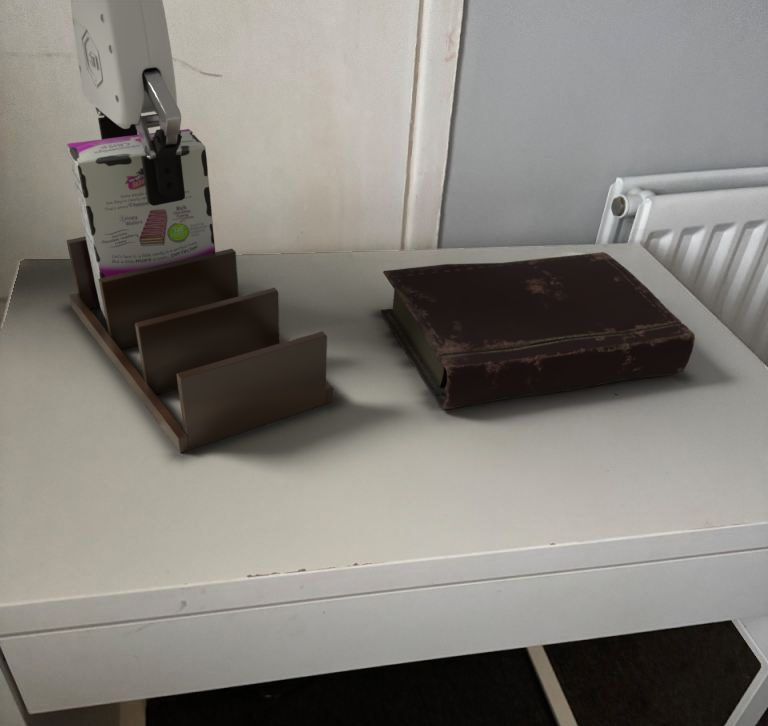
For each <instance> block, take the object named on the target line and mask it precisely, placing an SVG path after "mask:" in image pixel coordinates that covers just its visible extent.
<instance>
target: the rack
mask: <svg viewBox="0 0 768 726" xmlns="http://www.w3.org/2000/svg"><path fill="white" fill-rule="evenodd" d="M66 246H67V251H68V255H69V260H70V265H71V271H72V275H73V279H74V284H75V289H76V293H73V294H69V301H70V305H71V309H72V310H73V311H74V313H75V314H76V316H77V317H78V319H79V320H80V321H81V322H82V324H83V325H84V327H85V328H86V329H87V330H88V332H89V333H90V335H91V336H92V337H93V339H94V340H95V341H96V342H97V344H98V345H99V347H100V348H101V349H102V351H103V352H104V354H106V356H107V357H108V358H109V360H110V361H111V362H112V364H113V365H114V367H115V368H116V369H117V370H118V371H119V373H120V375H121V376H122V377H123V379H124V380H125V381H126V382H127V384H128V385H129V386H130V388H131V389H132V391H133V392H134V394H136V396H137V397H138V399H139V400H140V401H141V402H142V404H143V405H144V406H145V408H146V409H147V410H148V412H149V413H150V414H151V416H152V417H153V418H154V420H155V421H156V423H157V424H158V425H159V426H160V428H161V429H162V431H163V432H164V433H165V434H166V436H167V437H168V439H169V441H171V443H172V444H173V445H174V447H175V448H176V450H177V451H178V452H179V453H184V452H187V451H189V450H193V449H196V448H199V447H202V446H205V445H209V444H211V443H214V442H217V441H219V440H224V439H226V438H228V437H232V436H235V435H238V434H240V433H244V432H247V431H250V430H253V429H255V428H258V427H262V426H264V425H267V424H270V423H274V422H276V421H279V420H282V419H285V418H287V417H291V416H294V415H297V414H301V413H303V412H306V411H308V410H312V409H316V408H318V407H320V406H323V405H326V404H329V403H333V402H334V394H335V393H334V391H335V389H334V386H333V385H332V384H330V382H328V380H327V364H328V363H327V360H328V356H327V355H328V335H327V334H326V333H325V332H324V331H323V330H322V331H321V330H320V331H318V332H315V333H311V334H307V335H305V336H301V337H297V338H294V339H291V340H285V338H283V336H282V335H280V308H279V306H280V305H279V304H280V303H279V302H280V301H279V299H280V298H279V290H278V289H277V288H276V287H269V288H266V289H262V290H258V291H255V292H249V293H247V294H243V295H240V294H239V284H238V281H239V280H238V267H237V264H238V263H237V252H236V250H235V249H234V248H227V249H222V250H220V251H215V252H214V253H210V254H206V255H201V256H197V257H193V258H188V259H184V260H179V261H175V262H171V263H166V264H162V265H157V266H153V267H149V268H144V269H140V270H135V271H131V272H127V273H122V274H118V275H114V276H109V277H105V278H100V279H98V280H99V286H100V291H101V296H102V302H103V307H104V312H105V317H104V319H105V318H106V319H105V322H106V328H107V330H106V329H105V327H104V326H103V325H102V323H101V322H100V321H99V319H97V317H96V316H95V314H94V313H93V312H92V311H91V309H94V308H96V307H97V308H98V307H100V303H99V299H98V294H97V289H96V285H95V280H94V275H93V270H92V265H91V260H90V255H89V251H88V246H87V241H86V236H81V237H76V238H71V239H67V240H66ZM134 346H138V351H139V358H140V364H141V371H142V375H141V374H140V372H139V371H138V370H137V369H136V367H135V366H134V365H133V363H132V362H131V361H130V359H129V358H128V357H127V356H126V354H125V353H124V352H123V351H122V350H123V349H127V348H131V347H134ZM142 376H143V377H142ZM174 390H178V397H179V404H180V413H181V421H182V427H181V426H180V424H179V423H178V422H177V420H176V419H175V418H174V416H173V415H172V414H171V413H170V411H169V410H168V408H166V405H164V404H163V402H162V401H161V399H159V397H158V396H157V395H161V394H163V393H167V392H172V391H174Z"/></svg>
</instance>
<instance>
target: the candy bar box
mask: <svg viewBox="0 0 768 726" xmlns="http://www.w3.org/2000/svg"><path fill="white" fill-rule="evenodd" d="M180 131H181V133H180V134H181V136H182V139H181V143H180V144H181V148H182V153H181V163H182V172H183V181H184V190H185V198H184V199H183V200H181V201H176V202H171V203H166V204H161V205H156V206H152V205H151V204H150V203H149V202H148V201H147V195H146V187H145V180H144V173H143V166H142V159H141V156H146V154H145V152H144V149H143V146H142V143H141V140H140V138H139V135H134V136H125V137H117V138H109V139H101V138H100V139H93V140H86V141H77V142H69V143H67V144H66V149H67V153H68V158H69V163H70V167H71V173H72V177H73V181H74V187H75V191H76V196H77V200H78V205H79V212H80V215H81V216H80V217H81V220H82V225H83V231H84V235H85V236H86V241H87V246H88V251H89V255H90V260H91V265H92V270H93V275H94V280H95V285H96V289H97V294H98V299H99V303H100V306H99V307H100V311H101V313H102V315H103V318H104V319H105V320H106V318H105V312H104V307H103V302H102V296H101V291H100V286H99V280H98V279H100V278H105V277H109V276H114V275H118V274H122V273H127V272H131V271H135V270H140V269H144V268H149V267H153V266H157V265H162V264H166V263H171V262H175V261H179V260H184V259H188V258H193V257H197V256H201V255H206V254H210V253H214V252H216V243H215V234H214V223H213V211H212V202H211V191H210V182H209V181H210V180H209V169H208V157H207V151H206V150H207V149H206V148H207V147H206V146H205V144H204V143H203V142H202V141H201V140H200V139H199V138H198V136H196V135H195V134H194V133H193V131H192V130H191V129H189V128H185V129H180ZM149 133H150V136H151V139H152V140H153V137H154V135H155V132H149ZM85 236H84V237H85Z"/></svg>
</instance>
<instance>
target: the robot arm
mask: <svg viewBox="0 0 768 726" xmlns="http://www.w3.org/2000/svg"><path fill="white" fill-rule="evenodd" d="M70 8H71V18H72V25H73V33H74V40H75V48H76V49H75V50H76V56H77V62H78V70H79V76H80V82H81V88H82V91H83V94H84V96H85V98H86V99H87V100H88V101H89V102H90V103H91V104H92V105H93V106H94V108H95V111H96V114H97V115H98V117H97V120H98V126H99V132H100V140H101V139H109V138H117V137H125V136H134V135H139V138H140V140H141V143H142V146H143V149H144V152H145V154H146V156H141V159H142V166H143V173H144V180H145V187H146V195H147V201H148V202H149V203H150V204H151V205H152V206H156V205H161V204H166V203H171V202H176V201H181V200H183V199H184V198H185V190H184V181H183V172H182V163H181V153H182V148H181V144H180V143H181V139H182V136H181V134H180V133H181V131H180V130H181V124H182V113H181V110H180V108H179V106H178V99H177V98H178V96H177V95H178V94H177V85H176V76H175V67H174V61H173V55H172V47H171V41H170V34H169V30H168V29H169V28H168V22H167V18H166V12H165V5H164V1H163V0H70ZM146 113H153V114H147V115H146ZM142 114H145V115H142ZM157 127H159V129H156V130H155V132H154V133H155V135H154V137H153V140H152V139H151V136H150V133H151V132H150V130H149V129H151V128H157Z"/></svg>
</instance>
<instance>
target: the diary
mask: <svg viewBox="0 0 768 726" xmlns="http://www.w3.org/2000/svg"><path fill="white" fill-rule="evenodd" d="M382 274H383V275H384V277H385V279H386V280H387V281H388V282H389V284H390V286H391V287H392V289H393V297H392V298H393V301H392V308H386V309H380V314H381V315H382V317H383V318H384V319H385V322H386V323H387V325H388V326H389V328H390V330H391V331H392V333H393V335H394V336H395V337H396V339H397V341H398V342H399V344H400V345H401V347H402V349H403V351H404V352H405V354H406V355H407V357H408V359H409V360H410V362H411V363H412V365H413V367H414V368H415V370H416V371H417V373H418V374H419V376H420V378H421V379H422V381H423V382H424V384H425V386H426V387H427V389H428V391H429V392H430V394H431V395H432V396H433V399H434V400H435V402H436V403H437V405H438V406H439V408H440V410H442V411H443V410H449V409H450V410H451V409H455V408H456V409H457V408H460V407H461V408H462V407H466V406H472V405H477V404H481V403H482V404H483V403H488V402H493V401H498V400H505V399H510V398H517V397H525V396H527V397H528V396H534V395H542V394H551V393H557V392H558V393H559V392H567V391H573V390H578V389H584V388H589V387H595V386H599V385H605V384H610V383H615V382H620V381H626V380H637V379H646V378H652V377H660V376H661V377H663V376H672V375H678V374H681V373H683V372H684V370H685V368H687V367H686V366H687V365H688V363H689V360H690V358H691V355H692V352H693V348H694V345H695V340H696V337H695V333H694V332H693V331H692V329H690V328H689V327H688V326H687V325H685V324H684V323H682V321H681V320H680V319H679V318H678V317H677V315H676V316H675V314H674V313H672V312H671V310H669V308H668V307H666V306H665V305H664V304H663V302H661V300H660V299H659V298H658V297H657V296H656V295H655V294H654V293H653V292H652V291H651V290H650V289H649V288H648V287H647V286H646V285H645V284H644V283H643V282H642V281H641V280H639V279H638V278H637V277H636V276H635V275H634V274H633V273H632V272H631V271H630V270H628V269H627V268H626V267H625V266H624V265H622V264H621V263H620V262H619V261H617V260H616V259H615V258H613V257H612V256H611V255H610V254H609V253H606V252H604V251H600V252H592V253H590V252H589V253H582V254H581V253H580V254H572V255H563V256H553V257H552V256H551V257H543V258H534V259H526V260H525V259H524V260H514V261H507V262H505V261H504V262H478V263H477V262H476V263H475V262H473V263H444V264H434V265H433V264H432V265H426V266H416V267H405V268H398V269H397V268H396V269H389V270H383V271H382Z"/></svg>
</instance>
